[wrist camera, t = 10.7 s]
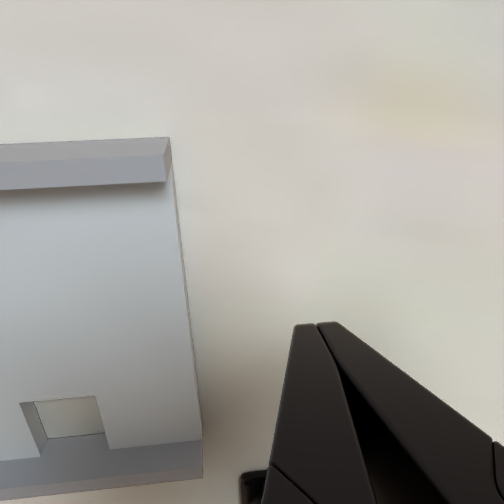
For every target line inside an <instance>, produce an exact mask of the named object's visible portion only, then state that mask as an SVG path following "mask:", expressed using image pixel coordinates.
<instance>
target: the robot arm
mask: <svg viewBox="0 0 504 504" xmlns="http://www.w3.org/2000/svg"><path fill="white" fill-rule="evenodd" d="M240 482H241V500H242V504H504V446H502V445H501V444H500V443H498V442H497V441H494V442H493V441H492V438H491V437H490V436H489V435H487V434H486V433H485V432H483V431H482V430H481V429H479V428H478V427H477V426H475V425H474V424H473V423H471V422H470V421H469V420H467V419H466V418H465V417H463V416H462V415H461V414H459V413H458V412H457V411H455V410H454V409H453V408H451V407H450V406H449V405H447V404H446V403H445V402H443V401H442V400H441V399H439V398H438V397H437V396H435V395H434V394H433V393H431V392H430V391H429V390H427V389H426V388H425V387H423V386H422V385H421V384H419V383H418V382H417V381H415V380H414V379H413V378H411V377H410V376H409V375H407V374H406V373H405V372H403V371H402V370H401V369H399V368H398V367H397V366H395V365H394V364H393V363H391V362H390V361H389V360H387V359H386V358H385V357H383V356H382V355H381V354H379V353H378V352H377V351H375V350H374V349H373V348H371V347H370V346H369V345H367V344H366V343H365V342H363V341H362V340H361V339H359V338H358V337H357V336H355V335H354V334H353V333H351V332H350V331H349V330H347V329H346V328H345V327H343V326H342V325H341V324H339V323H338V322H322V323H318V324H316V325H315V324H312V323H310V324H298V325H295V326H294V329H293V335H292V340H291V346H290V351H289V357H288V362H287V368H286V373H285V379H284V384H283V390H282V395H281V401H280V406H279V412H278V417H277V422H276V428H275V433H274V439H273V444H272V450H271V455H270V461H269V468H268V470H267V471H263V472H254V473H246V474H243V475H242V476H241V478H240Z"/></svg>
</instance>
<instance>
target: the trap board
mask: <svg viewBox="0 0 504 504" xmlns="http://www.w3.org/2000/svg"><path fill="white" fill-rule="evenodd" d="M87 396H95V398H96V402H97V405H98V409H99V413H100V416H101V420H102V423H103V427H104V430H105V433H103V434H93V435H83V436H73V437H63V438H54V439H47V436H46V434H45V431H44V429H43V426H42V423H41V421H40V418H39V415H38V413H37V410H36V408H35V405H34V402H33V401H44V400H55V399H65V398H76V397H87ZM199 478H203V429H202V420H201V411H200V403H199V394H198V385H197V376H196V367H195V358H194V350H193V341H192V332H191V323H190V314H189V306H188V297H187V288H186V279H185V270H184V262H183V253H182V244H181V235H180V226H179V218H178V209H177V200H176V191H175V182H174V174H173V165H172V156H171V147H170V138H169V137H160V138H137V139H113V140H90V141H67V142H44V143H21V144H0V501H3V500H12V499H21V498H30V497H38V496H47V495H56V494H65V493H74V492H83V491H92V490H101V489H110V488H119V487H127V486H136V485H145V484H154V483H163V482H172V481H181V480H190V479H199Z"/></svg>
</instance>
